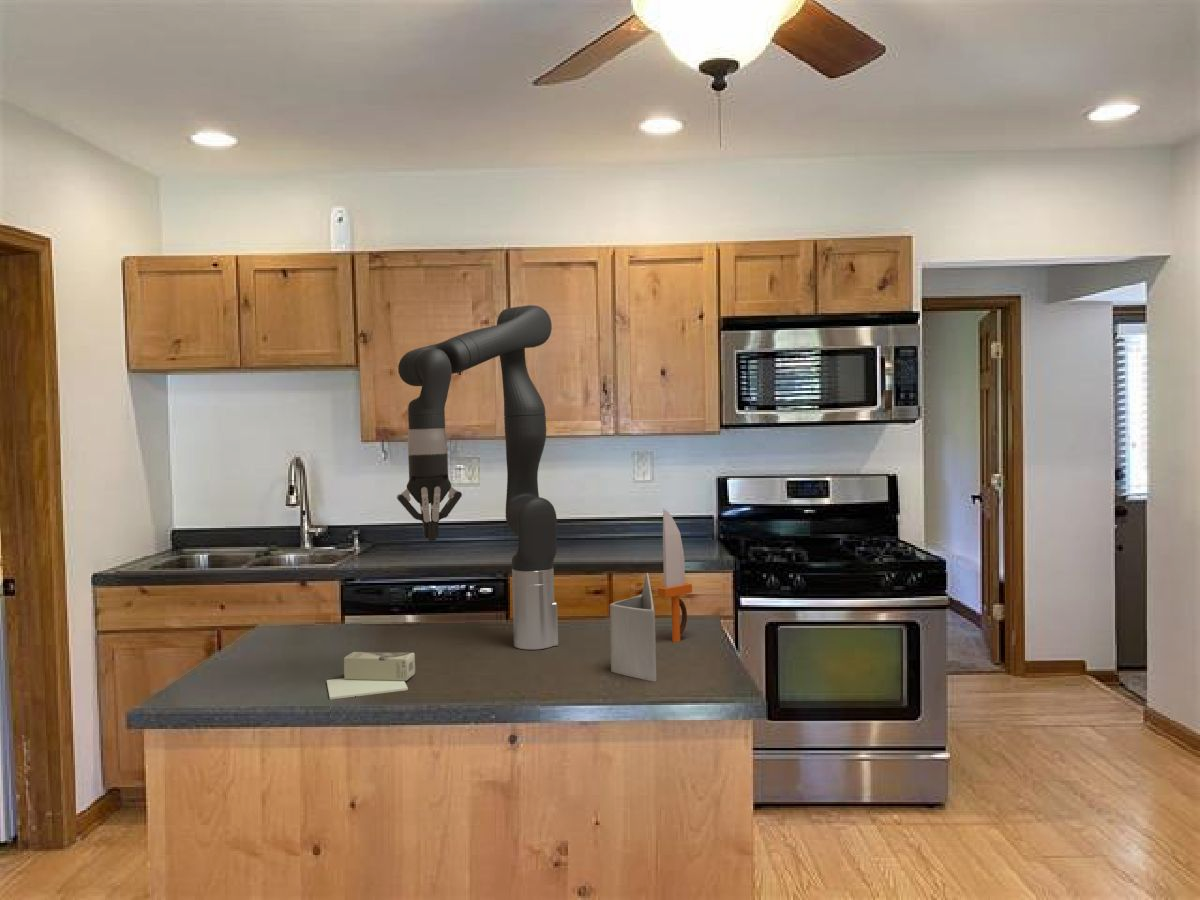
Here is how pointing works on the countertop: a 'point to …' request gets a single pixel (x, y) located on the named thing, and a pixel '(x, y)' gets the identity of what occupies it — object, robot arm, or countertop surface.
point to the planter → (634, 636)
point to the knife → (674, 574)
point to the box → (379, 666)
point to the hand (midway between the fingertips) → (431, 540)
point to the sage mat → (362, 687)
